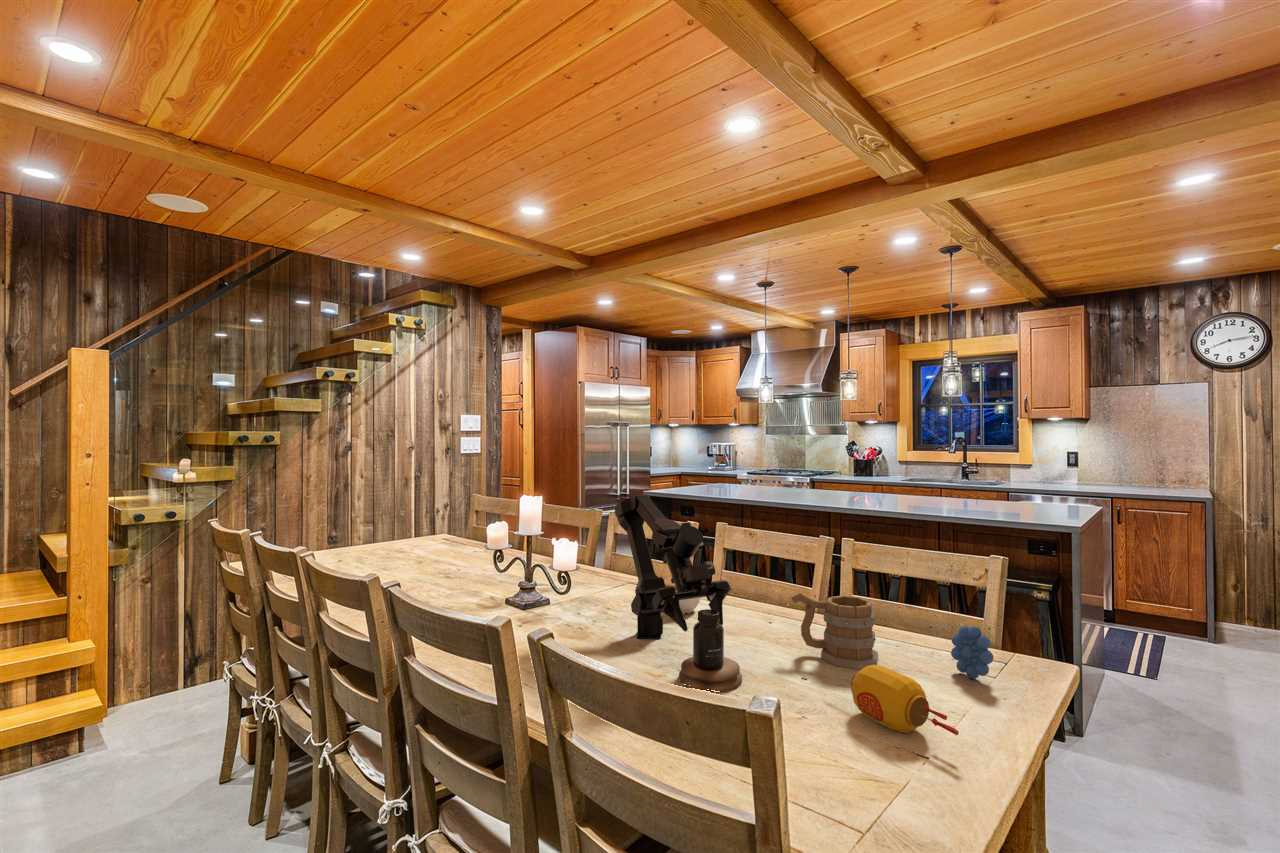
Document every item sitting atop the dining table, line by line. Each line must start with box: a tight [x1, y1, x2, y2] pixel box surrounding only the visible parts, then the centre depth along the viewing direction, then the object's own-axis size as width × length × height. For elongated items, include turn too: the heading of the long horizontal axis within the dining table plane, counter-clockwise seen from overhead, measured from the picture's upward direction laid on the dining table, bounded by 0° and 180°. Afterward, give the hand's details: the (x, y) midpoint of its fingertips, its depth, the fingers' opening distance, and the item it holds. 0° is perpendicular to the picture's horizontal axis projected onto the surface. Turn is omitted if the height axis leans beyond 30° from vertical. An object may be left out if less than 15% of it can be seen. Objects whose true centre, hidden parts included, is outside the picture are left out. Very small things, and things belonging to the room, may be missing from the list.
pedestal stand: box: [678, 656, 743, 694], centre depth 137 cm, size 14×14×3 cm
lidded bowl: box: [663, 576, 702, 615], centre depth 189 cm, size 13×13×11 cm
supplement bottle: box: [692, 608, 725, 671], centre depth 137 cm, size 7×7×12 cm
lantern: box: [829, 664, 960, 736], centre depth 116 cm, size 10×10×30 cm
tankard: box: [791, 592, 879, 670], centre depth 150 cm, size 20×13×15 cm, turn 65°
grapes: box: [950, 625, 994, 680], centre depth 136 cm, size 12×7×12 cm, turn 13°
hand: (704, 627), depth 139 cm, fingers open, 9 cm apart
